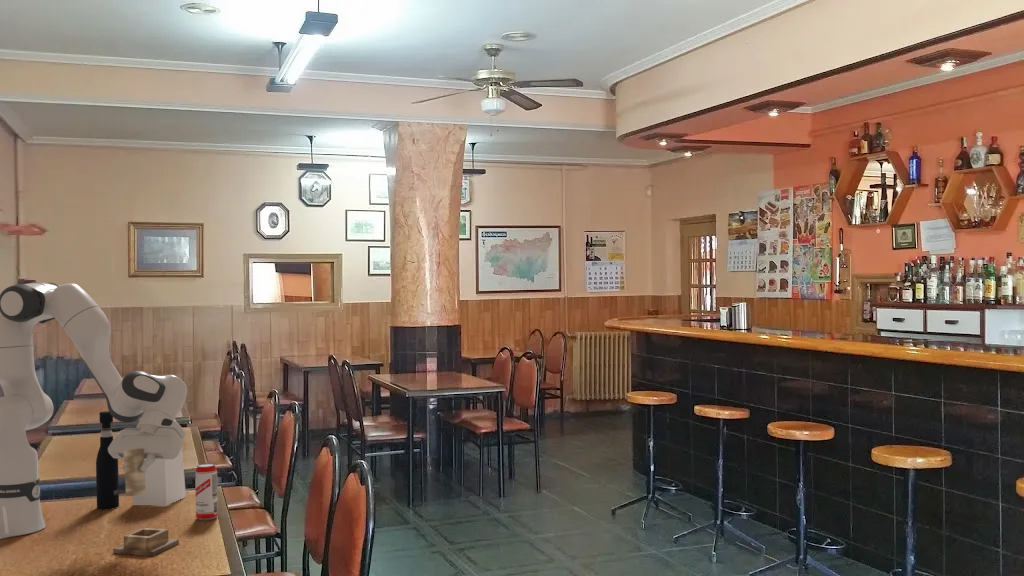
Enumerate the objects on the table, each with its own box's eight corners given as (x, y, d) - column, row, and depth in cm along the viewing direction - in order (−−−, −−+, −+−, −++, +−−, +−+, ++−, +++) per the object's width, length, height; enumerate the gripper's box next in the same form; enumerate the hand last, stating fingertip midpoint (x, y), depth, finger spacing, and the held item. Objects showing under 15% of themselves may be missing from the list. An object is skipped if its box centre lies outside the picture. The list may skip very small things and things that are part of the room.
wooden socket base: (113, 553, 237) (112, 537, 237) (140, 541, 248) (139, 525, 248) (153, 556, 234) (153, 540, 234) (178, 543, 245) (178, 528, 245)
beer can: (211, 521, 267) (210, 467, 267) (191, 520, 268) (190, 466, 268) (222, 515, 273) (221, 463, 273) (203, 515, 274) (202, 462, 274)
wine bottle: (98, 505, 287) (96, 411, 287) (120, 503, 289) (118, 410, 289) (95, 510, 281) (93, 414, 281) (117, 508, 283) (116, 413, 283)
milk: (166, 506, 286) (164, 424, 285) (132, 505, 287) (131, 423, 287) (185, 497, 297) (184, 418, 297) (153, 496, 299) (151, 417, 299)
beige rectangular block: (125, 495, 242) (123, 451, 242) (134, 492, 246) (132, 448, 246) (137, 496, 242) (135, 451, 241) (145, 492, 245) (143, 448, 245)
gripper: (116, 421, 253) (93, 463, 243) (181, 421, 248) (160, 464, 238) (127, 434, 257) (105, 476, 248) (191, 434, 252) (171, 477, 243)
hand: (133, 470), depth 243 cm, fingers closed on beige rectangular block, 3 cm apart
